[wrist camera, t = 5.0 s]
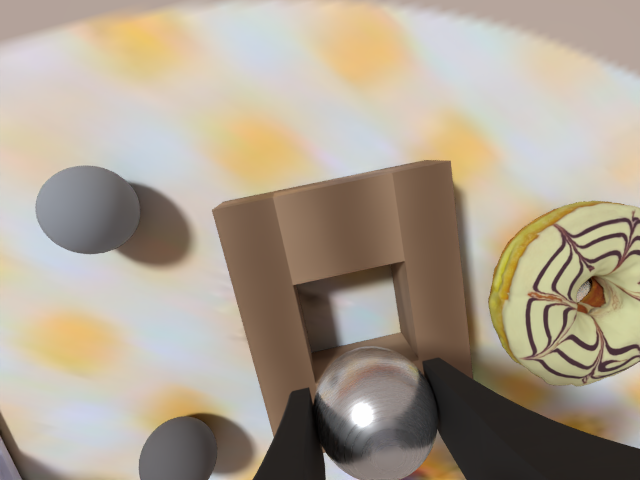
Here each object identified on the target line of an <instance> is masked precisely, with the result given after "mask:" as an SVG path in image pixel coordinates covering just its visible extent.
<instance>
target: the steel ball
mask: <svg viewBox="0 0 640 480" xmlns="http://www.w3.org/2000/svg"><path fill="white" fill-rule="evenodd" d="M313 413H314V420H315V426H316V431H317V435H318V438H319V440H320V443H321V445H322V447H323V448H324V450H325V452H326V453H327V455H328V456H329V457H330V459H331V460H332V461H333V462H334V463H335V464H336V465H337V466H338V467H339V468H340V469H342V470H343V471H344V472H346V473H347V474H349V475H351V476H352V477H354V478H357V479H359V480H400V479H402V478H404V477H406V476H408V475H409V474H411V473H412V472H414V471H415V470H416V469H417V468H419V467H420V465H421V464H422V463H423V462H424V461H425V459H426V458H427V456H428V455H429V453H430V451H431V449H432V447H433V444H434V441H435V438H436V434H437V425H438V413H437V405H436V401H435V397H434V394H433V391H432V389H431V387H430V385H429V383H428V381H427V379H426V378H425V376H424V375H423V374H422V372H421V371H420V370H419V369H418V367H417V366H416V365H414V364H413V363H412V362H411V361H410V360H409V359H407V358H406V357H404V356H403V355H401V354H399V353H397V352H395V351H393V350H390V349H386V348H382V347H374V346H370V347H361V348H357V349H353V350H351V351H348V352H346V353H344V354H343V355H341V356H340V357H338V358H337V359H336V360H335V361H334V362H332V363H331V365H330V366H329V367H328V368H327V369H326V371H325V372H324V374H323V375H322V377H321V379H320V381H319V384H318V386H317V389H316V392H315V397H314V404H313Z"/></svg>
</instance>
